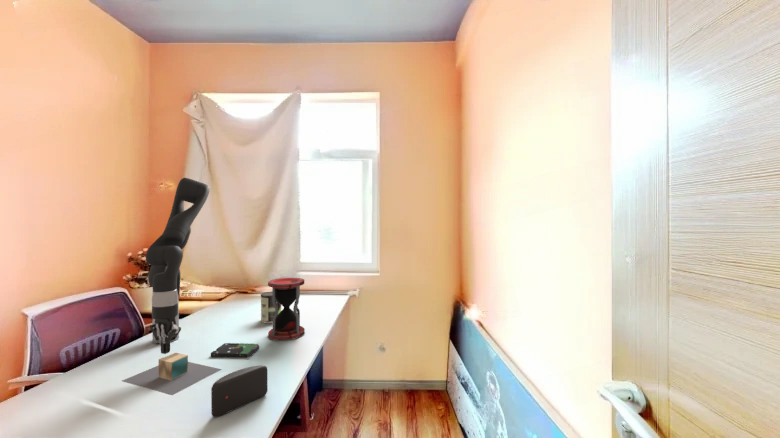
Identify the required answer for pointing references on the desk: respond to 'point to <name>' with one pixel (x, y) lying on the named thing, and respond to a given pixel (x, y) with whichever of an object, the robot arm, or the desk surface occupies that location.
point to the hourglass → (286, 308)
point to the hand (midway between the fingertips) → (165, 352)
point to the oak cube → (173, 366)
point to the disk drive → (235, 350)
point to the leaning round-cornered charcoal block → (238, 389)
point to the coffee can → (267, 308)
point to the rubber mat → (171, 386)
